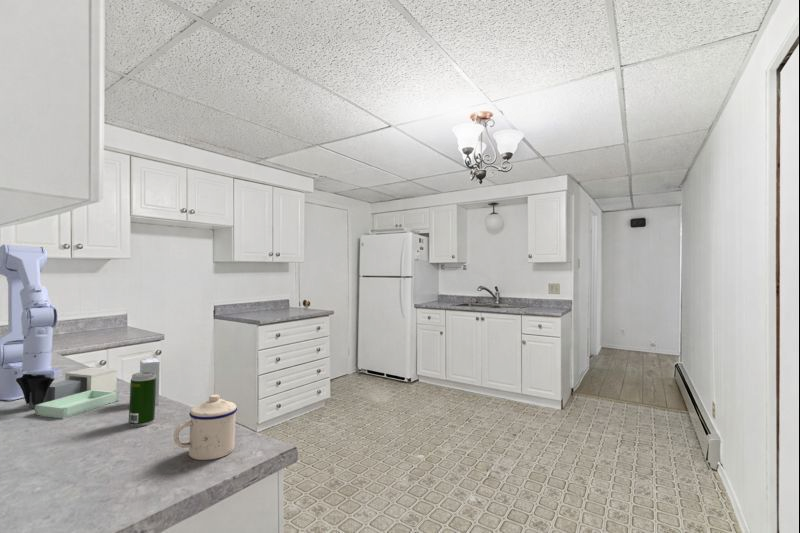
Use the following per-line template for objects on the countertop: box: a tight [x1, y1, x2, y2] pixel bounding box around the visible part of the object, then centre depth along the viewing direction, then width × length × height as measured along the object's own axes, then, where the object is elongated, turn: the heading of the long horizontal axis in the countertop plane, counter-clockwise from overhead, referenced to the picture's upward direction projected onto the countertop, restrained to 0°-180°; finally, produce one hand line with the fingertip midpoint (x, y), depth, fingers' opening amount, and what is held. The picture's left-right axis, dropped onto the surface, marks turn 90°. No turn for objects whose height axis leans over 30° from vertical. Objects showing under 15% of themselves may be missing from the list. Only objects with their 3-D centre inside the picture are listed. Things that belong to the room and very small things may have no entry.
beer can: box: [128, 372, 156, 428], centre depth 97 cm, size 5×5×12 cm
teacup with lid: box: [173, 394, 238, 461], centre depth 82 cm, size 12×9×12 cm
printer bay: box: [64, 366, 118, 393], centre depth 120 cm, size 10×8×6 cm
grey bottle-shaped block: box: [28, 379, 81, 409], centre depth 110 cm, size 4×11×5 cm, turn 168°
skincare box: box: [139, 358, 161, 406], centre depth 112 cm, size 6×4×12 cm
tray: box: [34, 389, 119, 420], centre depth 107 cm, size 9×15×2 cm, turn 168°
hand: (34, 403), depth 105 cm, fingers closed on grey bottle-shaped block, 2 cm apart
